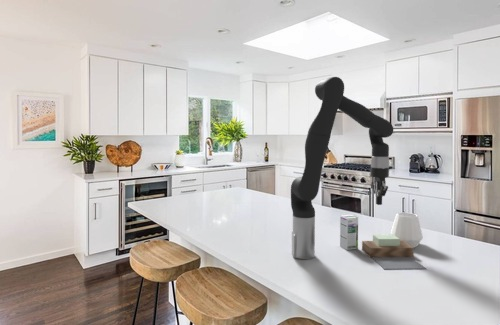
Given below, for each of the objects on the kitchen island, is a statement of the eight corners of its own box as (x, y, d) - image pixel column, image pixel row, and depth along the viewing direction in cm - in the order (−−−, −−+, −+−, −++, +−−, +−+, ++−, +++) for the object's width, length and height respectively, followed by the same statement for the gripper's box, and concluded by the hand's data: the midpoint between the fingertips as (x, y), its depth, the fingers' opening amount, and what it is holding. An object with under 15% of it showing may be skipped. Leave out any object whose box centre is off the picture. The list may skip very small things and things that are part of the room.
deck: (369, 257, 131) (370, 248, 130) (362, 249, 139) (362, 240, 139) (413, 257, 131) (413, 247, 130) (402, 249, 140) (402, 240, 139)
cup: (389, 246, 144) (390, 216, 143) (391, 237, 156) (392, 209, 154) (422, 251, 138) (423, 219, 136) (422, 241, 149) (423, 212, 148)
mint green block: (378, 246, 133) (378, 239, 132) (372, 241, 139) (373, 234, 138) (399, 245, 133) (400, 238, 132) (393, 241, 139) (393, 234, 138)
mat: (384, 269, 119) (384, 268, 119) (372, 258, 130) (372, 257, 130) (426, 269, 119) (426, 268, 119) (411, 257, 130) (411, 257, 130)
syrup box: (346, 250, 139) (347, 218, 138) (339, 245, 145) (340, 214, 143) (358, 249, 140) (358, 217, 139) (350, 244, 146) (351, 214, 145)
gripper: (366, 165, 148) (365, 201, 149) (377, 168, 135) (376, 207, 136) (381, 164, 148) (381, 201, 149) (395, 167, 135) (393, 207, 136)
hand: (378, 204), depth 143 cm, fingers closed
